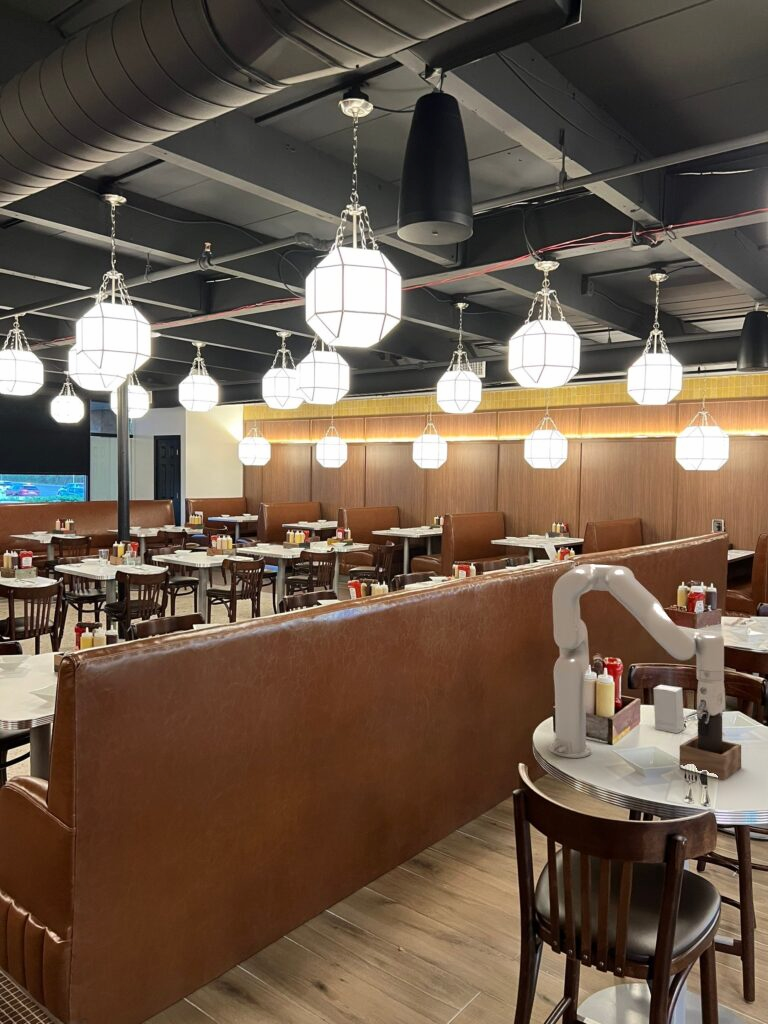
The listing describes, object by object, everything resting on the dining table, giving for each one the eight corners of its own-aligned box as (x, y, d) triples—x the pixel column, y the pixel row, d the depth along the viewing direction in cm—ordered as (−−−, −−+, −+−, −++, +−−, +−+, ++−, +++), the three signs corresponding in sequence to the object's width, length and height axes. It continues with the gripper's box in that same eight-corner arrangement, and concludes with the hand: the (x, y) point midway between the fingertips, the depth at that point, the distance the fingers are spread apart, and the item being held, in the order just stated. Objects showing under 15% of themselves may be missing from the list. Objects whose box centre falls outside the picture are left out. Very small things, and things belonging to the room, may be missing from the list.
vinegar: (712, 759, 229) (711, 694, 228) (727, 767, 222) (727, 700, 222) (693, 761, 227) (692, 696, 227) (707, 769, 221) (707, 702, 220)
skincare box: (684, 730, 260) (684, 687, 259) (676, 734, 255) (676, 691, 255) (661, 724, 266) (661, 683, 265) (653, 728, 262) (653, 686, 261)
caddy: (723, 780, 215) (723, 756, 215) (679, 768, 225) (679, 745, 224) (741, 768, 224) (741, 744, 224) (698, 757, 234) (697, 735, 234)
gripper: (710, 682, 215) (711, 742, 215) (734, 671, 227) (734, 728, 228) (685, 678, 220) (685, 736, 221) (709, 667, 232) (709, 722, 233)
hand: (710, 731), depth 224 cm, fingers open, 8 cm apart
